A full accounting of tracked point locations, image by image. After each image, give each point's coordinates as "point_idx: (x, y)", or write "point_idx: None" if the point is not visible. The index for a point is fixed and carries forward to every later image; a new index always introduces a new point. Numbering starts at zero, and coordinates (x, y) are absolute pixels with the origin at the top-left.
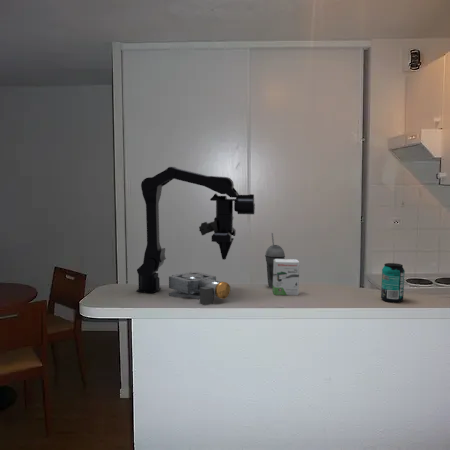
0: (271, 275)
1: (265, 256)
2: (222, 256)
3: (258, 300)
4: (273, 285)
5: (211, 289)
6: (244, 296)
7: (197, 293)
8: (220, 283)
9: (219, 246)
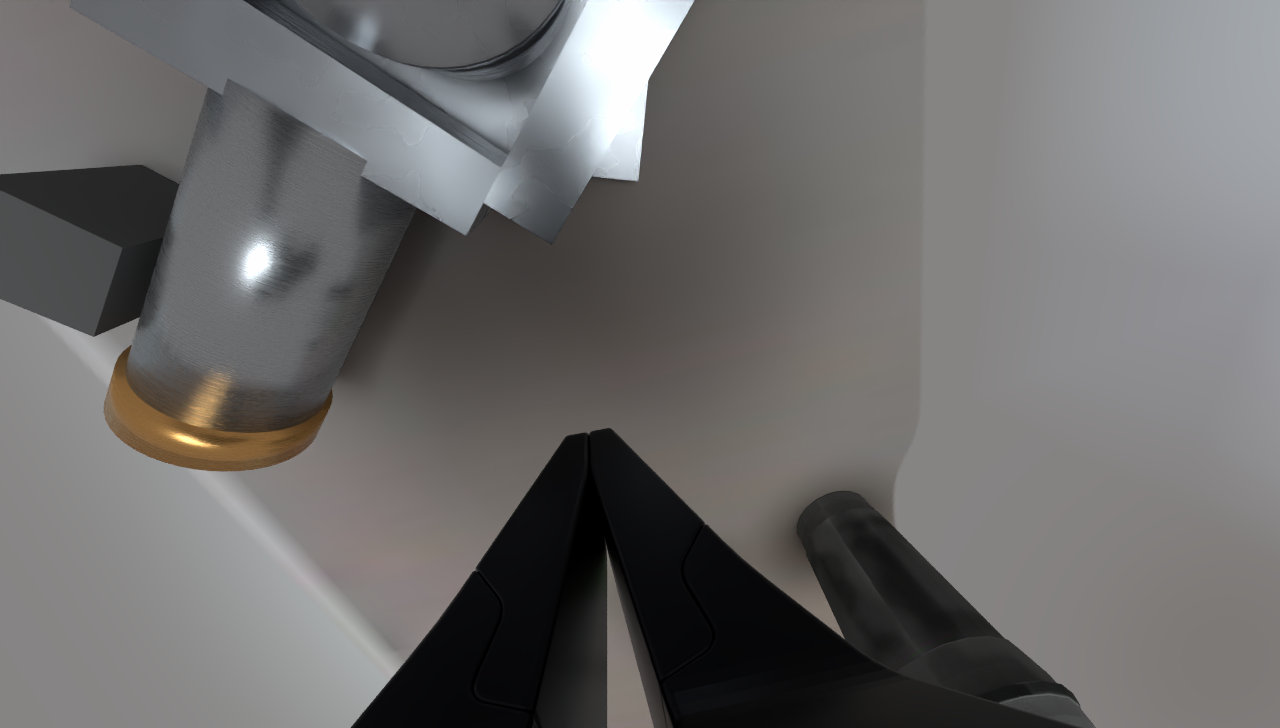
0: (836, 584)
1: (976, 696)
2: (547, 478)
3: (479, 526)
4: None
5: (81, 320)
6: (546, 434)
7: (357, 53)
8: (126, 428)
9: (369, 709)
